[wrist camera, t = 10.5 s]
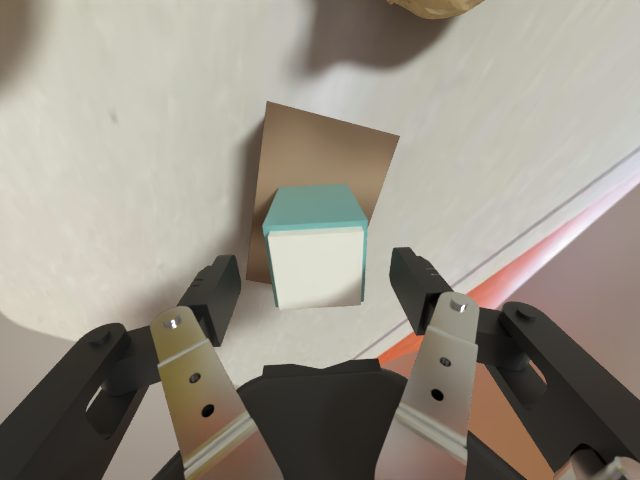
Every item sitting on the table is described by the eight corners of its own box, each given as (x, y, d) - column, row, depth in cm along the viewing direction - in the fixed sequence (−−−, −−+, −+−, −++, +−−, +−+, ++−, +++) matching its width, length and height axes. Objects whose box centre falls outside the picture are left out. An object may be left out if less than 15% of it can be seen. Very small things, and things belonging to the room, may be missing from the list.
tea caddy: (278, 187, 18) (260, 231, 11) (347, 183, 18) (370, 225, 11) (286, 247, 20) (274, 314, 13) (346, 243, 20) (365, 309, 13)
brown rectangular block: (276, 104, 20) (266, 100, 15) (380, 131, 21) (399, 136, 16) (256, 251, 26) (245, 279, 21) (338, 265, 27) (343, 295, 22)
